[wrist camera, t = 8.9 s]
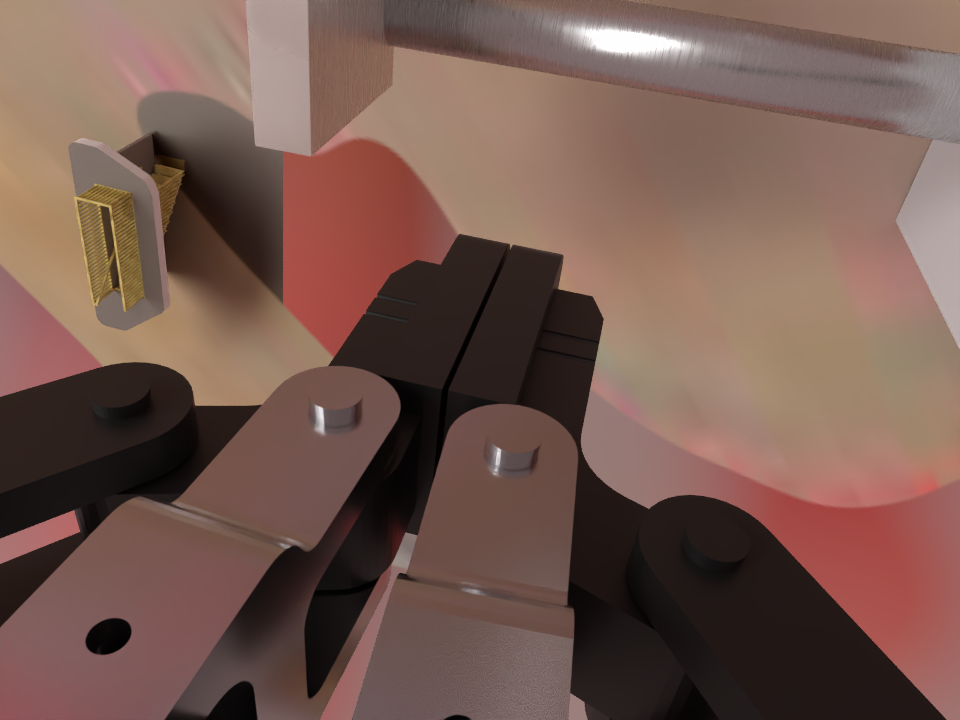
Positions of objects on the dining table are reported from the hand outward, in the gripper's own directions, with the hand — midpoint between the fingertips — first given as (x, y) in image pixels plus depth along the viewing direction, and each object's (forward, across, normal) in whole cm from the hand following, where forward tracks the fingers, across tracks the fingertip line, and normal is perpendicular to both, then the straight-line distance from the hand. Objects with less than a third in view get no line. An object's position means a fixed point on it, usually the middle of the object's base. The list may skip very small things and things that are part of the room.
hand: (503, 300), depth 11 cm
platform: (+25, +21, +14) cm, 35 cm away
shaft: (+17, -5, 0) cm, 18 cm away
